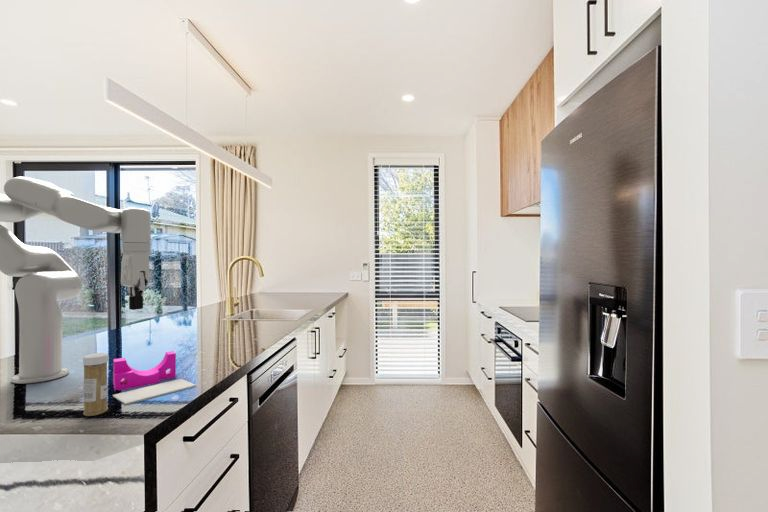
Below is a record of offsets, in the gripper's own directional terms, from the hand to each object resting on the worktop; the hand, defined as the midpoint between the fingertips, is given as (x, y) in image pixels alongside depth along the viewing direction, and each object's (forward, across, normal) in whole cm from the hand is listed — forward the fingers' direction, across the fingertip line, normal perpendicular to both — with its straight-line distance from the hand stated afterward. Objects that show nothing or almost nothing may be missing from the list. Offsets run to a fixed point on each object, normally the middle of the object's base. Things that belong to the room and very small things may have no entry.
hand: (136, 309), depth 114 cm
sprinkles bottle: (+21, +24, -16) cm, 35 cm away
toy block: (+21, +9, 0) cm, 23 cm away
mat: (+20, +19, -2) cm, 28 cm away
